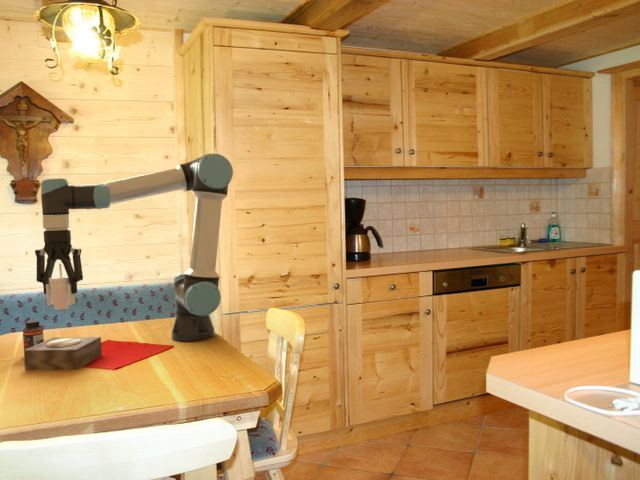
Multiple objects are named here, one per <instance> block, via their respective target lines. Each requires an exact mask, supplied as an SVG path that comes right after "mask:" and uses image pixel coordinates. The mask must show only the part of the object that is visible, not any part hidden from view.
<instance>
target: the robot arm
mask: <svg viewBox="0 0 640 480" xmlns="http://www.w3.org/2000/svg"><path fill="white" fill-rule="evenodd" d="M233 175H234V170H233V166H232V164H231V162H230V161H229V160H228V158H226V157H225V156H224V155H222V154H220V153H207V154H204V155H202V156H200V157H197V158H196V159H193V160H191V161H188V162H184V163H181V164H177V166H176V167H175V168H171V169H166V170H161V171H156V172H151V173H146V174H141V175H136V176H132V177H127V178H126V177H125V178H122V179H117V180H116V179H115V180H111V181H106V182H103V183H97V184H69V181H68V179H67V178H56V177H55V178H44V179H42V180H41V183H40V196H41V199H40V200H41V209H42V210H41V212H42V228H43V229H44V231H43V242H44V246H43V248H41V249H35V250H34V254H35V257H36V282H37V283H42V284H43V285H42V287H43V288H42V289H43V294H44V295H46V306H52V305H54V301H53V296H52V291H51V286H50V282H49V278H52V277H53V273H54V268H55V266H56V265H55V264H56V262H57V261H58V260H59V261H60V262H61V264H62V265H63V267H64V270H65V272H66V275H67V276H68V278H69V281H70V282H69V284H67V285H68V303H69V304H68V306H72V305H75V304H76V294H77V293H78V283H79V282H81V281H83V280H84V274H83V267H82V260H81V256H82V255H81V254H82V249H81V248H76V247H73V245H72V238H71V237H72V235H71V234H72V232H71V230H70V228H71V217H70V210H102V209H109V208H110V206H111V205H115V204H119V203H124V202H128V201H134V200H138V199H143V198H147V197H152V196H157V195H161V194H166V193H170V192H174V191H180V190H181V191H183V192H190V191H192V194H193V195H194V196H195V198H196V199H195V200H196V201H195V208H194V209H195V210H194V218H193V219H194V220H193V228H192V229H193V231H192V240H191V249H190V250H191V251H190V262H189V268H188V270H186V271H185V272H184V273H182V274H177V275H175V276H174V279H173V286H174V301H175V303H174V304H175V319H174V323H173V327H172V328H171V329H172V330H171V340H173V341H178V342H195V341H196V342H197V341H203V340H204V341H205V340H208V339H211V338H213V337H214V336H215V335H216V334H215V332H216V331H215V327H214V324H213V322H212V319H211V316H210V314H213V313H214V312H215V311H216V310H217V309H218V307H219V306H220V304H221V298H222V297H221V295H222V294H221V291H220V288H219V285H220V283H219V282H220V275H219V274H218V273H217V270H216V269H217V268H216V267H217V258H218V257H217V256H218V247H219V238H220V228H221V227H220V226H221V215H222V205H223V200H225V198H227V197H228V192H229V184H231V181H232V179H233ZM70 254H71V255H72V259H71V256H70ZM45 255H47V258H46V256H45ZM71 260H72V262H71ZM45 265H46V266H45Z"/></svg>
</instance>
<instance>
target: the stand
mask: <svg viewBox="0 0 640 480" xmlns="http://www.w3.org/2000/svg"><path fill="white" fill-rule="evenodd" d="M102 352H103V351H102V337H101V336H74V337H73V336H70V337H69V336H67V337H65V336H63V337H54V336H53V337H50V338H49V339H46V340H44V342H42V343H39V344H37V345H35V346H33V347H30V348H28V349H26V350H24V349H23V357H24V370H25V371H77V370H79V369H81V368H83V367H84V366H86V365H88V364H89V363H91V362H93V361H95V360H96V359H98V358H99V356H100V357H101V356H102V355H103V353H102ZM94 359H95V360H94Z"/></svg>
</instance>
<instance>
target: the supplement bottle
mask: <svg viewBox="0 0 640 480" xmlns="http://www.w3.org/2000/svg"><path fill="white" fill-rule="evenodd" d="M44 339H45V338H44V328H43V327H42V326H40V320H38V319H32V320H27V321H25V328H23V330H22V341H23V351H24V350H26V349H28V348H30V347H33V346H35V345H37V344H39V343H42V342H44V341H45V340H44Z"/></svg>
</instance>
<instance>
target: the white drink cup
mask: <svg viewBox="0 0 640 480" xmlns="http://www.w3.org/2000/svg"><path fill="white" fill-rule="evenodd" d="M58 266H59V268H58V269H59V276H52V277H51V278H49V282H50V286H51V291H52V296H53V301H54V304H53V305H54V310H55V311H60V310H61V311H62V310H63V311H64V310H68V309H69V303H68V285H67V284H69V282H70V281H69V278H68V276H66V275H63V273H62V263H58Z"/></svg>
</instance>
